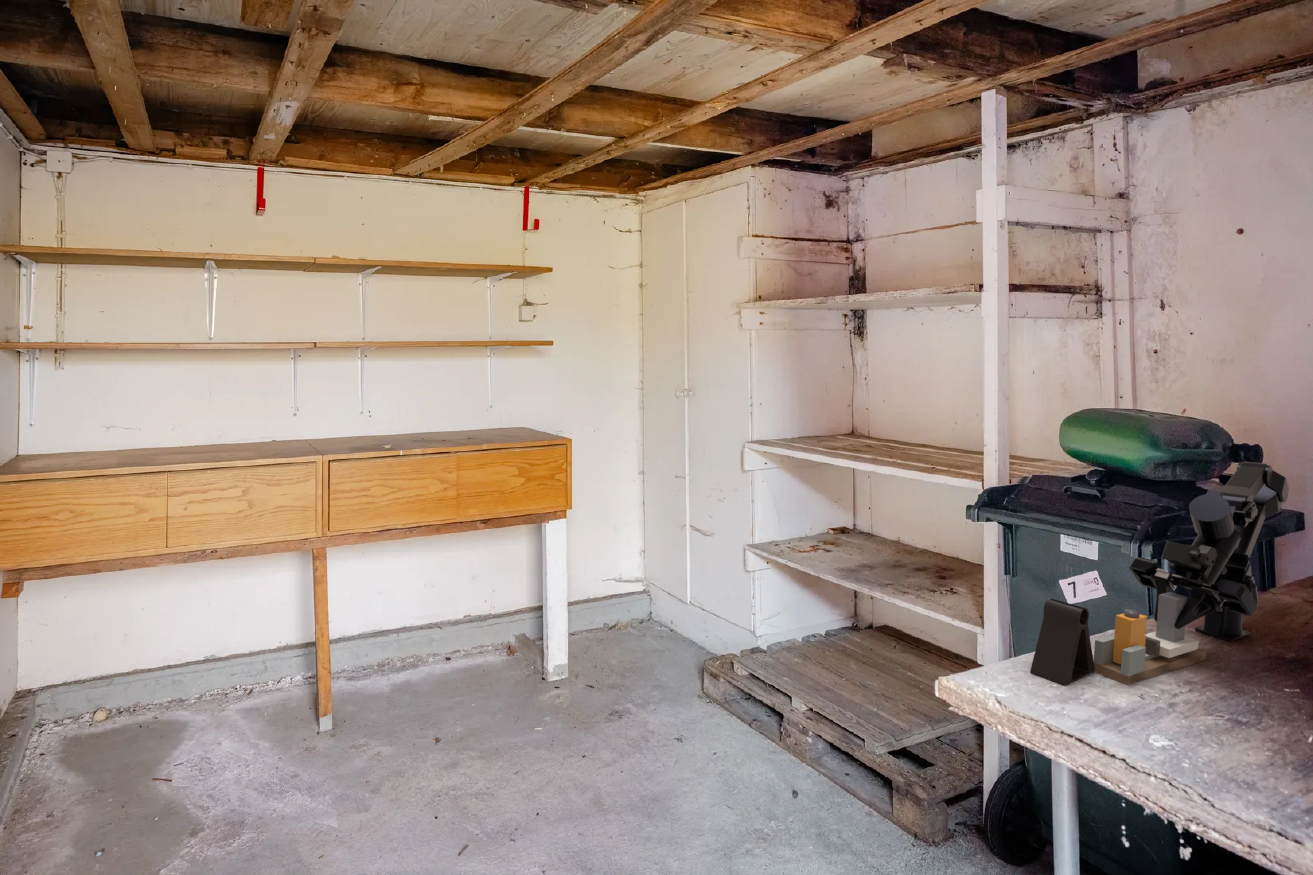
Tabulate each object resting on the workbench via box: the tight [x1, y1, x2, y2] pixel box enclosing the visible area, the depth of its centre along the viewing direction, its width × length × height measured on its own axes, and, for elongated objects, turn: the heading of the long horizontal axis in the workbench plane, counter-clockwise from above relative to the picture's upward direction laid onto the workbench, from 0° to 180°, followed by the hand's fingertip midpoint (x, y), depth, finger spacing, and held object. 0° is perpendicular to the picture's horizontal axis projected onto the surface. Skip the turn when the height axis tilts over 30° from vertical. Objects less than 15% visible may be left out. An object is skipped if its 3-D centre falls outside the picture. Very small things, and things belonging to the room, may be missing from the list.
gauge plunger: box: [1113, 608, 1148, 664], centre depth 133 cm, size 4×3×9 cm
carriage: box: [1145, 592, 1199, 658], centre depth 138 cm, size 9×6×9 cm, turn 116°
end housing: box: [1093, 635, 1146, 676], centre depth 133 cm, size 4×6×4 cm, turn 26°
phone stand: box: [1029, 598, 1095, 686], centre depth 134 cm, size 9×6×12 cm, turn 123°
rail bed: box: [1094, 648, 1207, 686], centre depth 137 cm, size 21×6×2 cm, turn 116°
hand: (1165, 624), depth 138 cm, fingers closed on carriage, 3 cm apart
